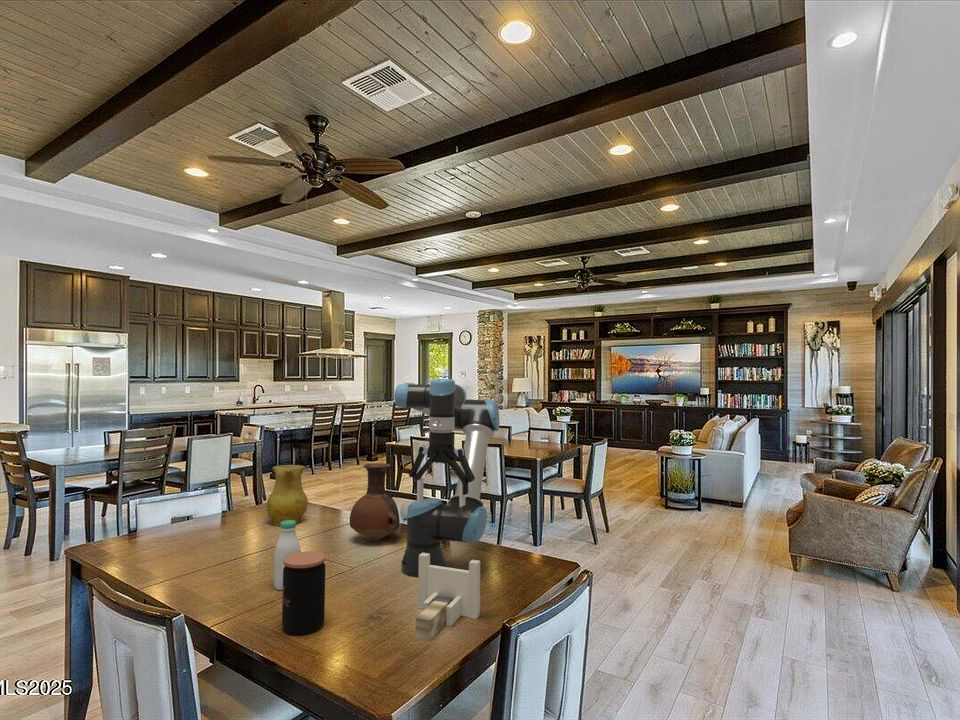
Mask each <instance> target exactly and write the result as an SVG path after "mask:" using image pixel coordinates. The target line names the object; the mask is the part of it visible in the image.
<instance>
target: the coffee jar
mask: <svg viewBox="0 0 960 720" xmlns="http://www.w3.org/2000/svg"><path fill="white" fill-rule="evenodd" d="M325 561H326V554H325V553H323V552H321V551H316V550H315V551H314V550H306V551H303V550H302V551H301V552H297V553H293V554H290V555H288V556H286V557H285V558H284V560H283V563H284V565H285V567H284V569H283V590H282V597H281V598H282V600H281V601H282V602H281V604H282V605H281V610H282V611H281V627H282V629H283V630H284V631H285V633H287V634H289V635H292V636H304V635H308V634H312V633H315V632H317V631H318V630H319V629H320V628H321V627H322V626H323V624H324V623H325V615H326V614H325V613H326V612H325V611H326V609H325V606H326V605H325V604H326V602H325V601H326V596H325V595H326V563H325Z"/></svg>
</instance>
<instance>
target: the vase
mask: <svg viewBox="0 0 960 720" xmlns="http://www.w3.org/2000/svg"><path fill="white" fill-rule="evenodd" d="M362 466H363V468H365V469H366V471H367V490H366V493H365V494H364V495H362V496H361V497H360V498H359V499H357V500H356V502H354V504H353V506H352V508H351V511H350V515H349V526H350V528H351V529H352V530H353V531H355V532H356V533H358V534H359V535H361V536H362V537H363V538H366V539H367V540H370V541H372V542H378V541H381V539H383V538H384V537H386V536H389V535H390V534H392V533H394V532H395V531H397V530H398V529H399V527H400V514H399V508H398V506H397V504H396V501H395V499H394V496H393V495H392V494H391V493H390V492H388V493H387V492H386V485H385V484H386V474H387V471H388V469H390V468H391V467H392V465H391V464H389V463H383V462H376V463H364V464H363V465H362Z"/></svg>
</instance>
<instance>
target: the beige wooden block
mask: <svg viewBox="0 0 960 720" xmlns="http://www.w3.org/2000/svg"><path fill="white" fill-rule="evenodd" d="M452 601H453V598H451V597H445V596H437V597H436V598H435V599H434V601H433V602H432V603H431V604H430V605H429V606H428V607H427V608H426V609H425V610H424V611H423V610H422V611H421V612H420V613H419V614H418V615H417V616H416V617H415V638H417V639H422V640H427V641H431V640H432V639H433V638H434V637H435V636H436V635H437V634H438V632H439V631H440V630H441V629H442V628H443V627H444V626H446V607H447V606H448V605H449V604H450V603H451V602H452Z"/></svg>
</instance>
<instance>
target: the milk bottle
mask: <svg viewBox="0 0 960 720" xmlns="http://www.w3.org/2000/svg"><path fill="white" fill-rule="evenodd" d="M279 527H280V535H279V537H278V540H277V542H276V544H275V549H274V562H273V563H274V566H273V568H274V569H273V587H274V589H275V590H279V591H283V569H284V567H285V565H284V563H283V560H284V558H285V557H286V556H288V555H290V554H293V553H297V552H302V551H301V550H302V549H301V543H300V540H299V539H298V536H297V533H296V529H297V524H296V521H294V520H286V521H282V522H281V525H280V526H279Z"/></svg>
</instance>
